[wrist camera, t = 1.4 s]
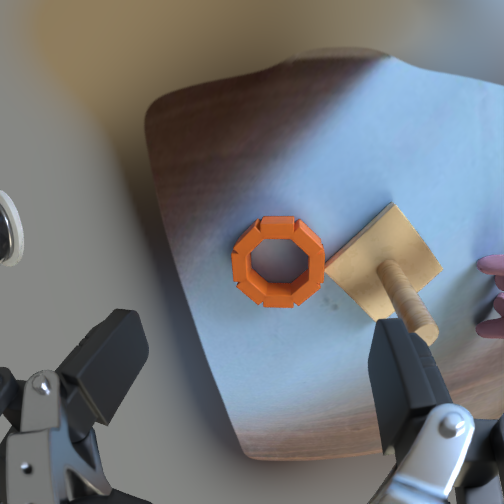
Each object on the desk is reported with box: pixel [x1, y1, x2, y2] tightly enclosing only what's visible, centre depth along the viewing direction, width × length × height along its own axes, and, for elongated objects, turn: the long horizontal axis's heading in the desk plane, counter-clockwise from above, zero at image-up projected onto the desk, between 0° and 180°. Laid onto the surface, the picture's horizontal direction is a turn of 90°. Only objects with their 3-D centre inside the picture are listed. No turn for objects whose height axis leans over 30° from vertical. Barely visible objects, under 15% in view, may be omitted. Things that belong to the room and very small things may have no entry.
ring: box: [231, 216, 325, 308], centre depth 23 cm, size 7×7×2 cm
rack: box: [324, 202, 443, 347], centre depth 19 cm, size 8×8×10 cm
